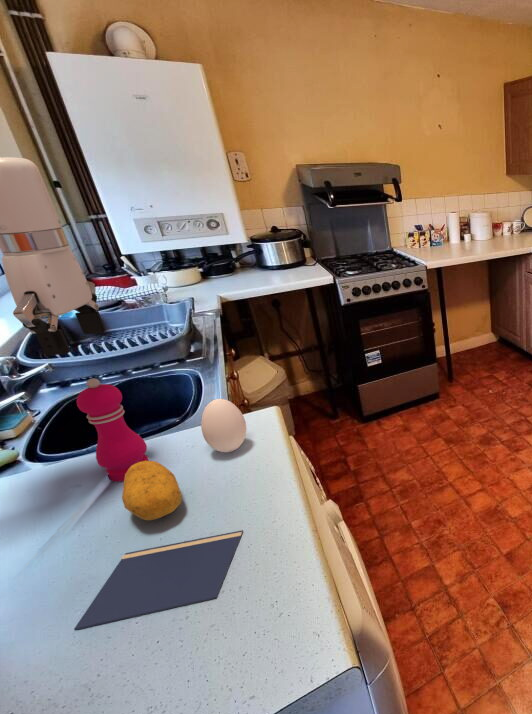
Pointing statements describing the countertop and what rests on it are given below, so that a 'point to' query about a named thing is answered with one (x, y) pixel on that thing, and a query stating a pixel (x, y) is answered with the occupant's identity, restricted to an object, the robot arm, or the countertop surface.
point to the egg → (223, 425)
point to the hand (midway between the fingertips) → (78, 342)
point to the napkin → (163, 579)
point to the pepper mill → (111, 429)
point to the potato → (150, 490)
